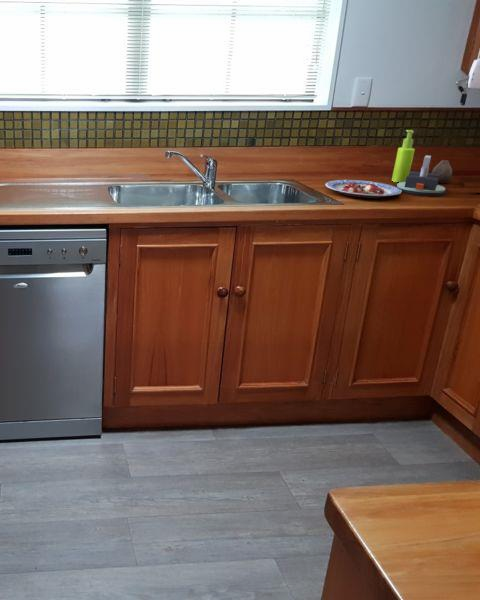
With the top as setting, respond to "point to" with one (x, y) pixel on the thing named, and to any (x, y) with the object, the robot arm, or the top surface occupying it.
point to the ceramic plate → (363, 188)
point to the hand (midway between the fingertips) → (477, 105)
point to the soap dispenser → (404, 159)
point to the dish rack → (422, 180)
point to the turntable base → (423, 193)
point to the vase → (443, 171)
